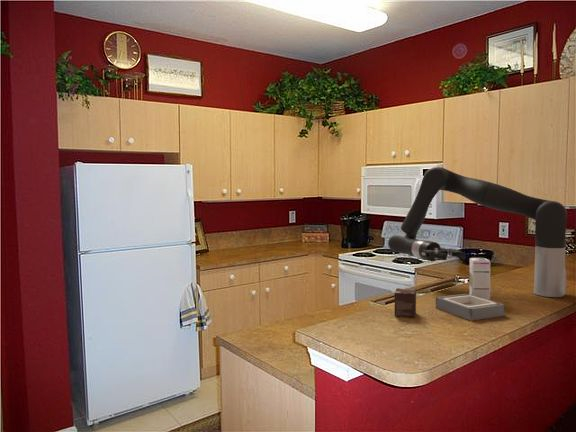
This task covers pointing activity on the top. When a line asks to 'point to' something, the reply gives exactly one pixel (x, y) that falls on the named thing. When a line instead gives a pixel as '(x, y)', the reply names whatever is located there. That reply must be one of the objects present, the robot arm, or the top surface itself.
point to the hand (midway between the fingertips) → (455, 256)
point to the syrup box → (479, 277)
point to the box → (405, 302)
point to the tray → (470, 306)
